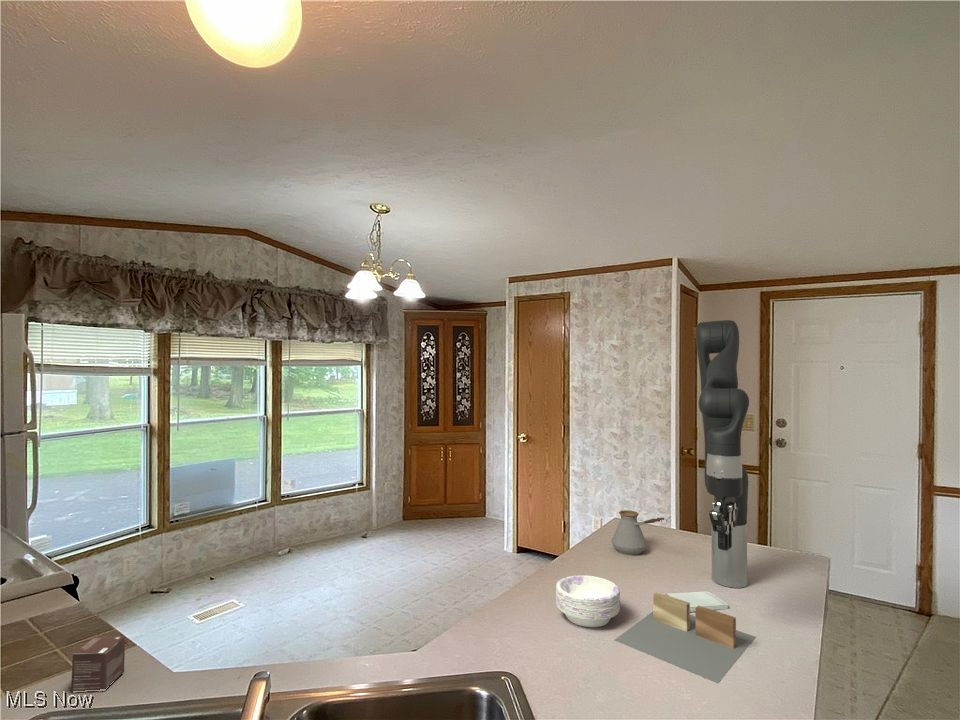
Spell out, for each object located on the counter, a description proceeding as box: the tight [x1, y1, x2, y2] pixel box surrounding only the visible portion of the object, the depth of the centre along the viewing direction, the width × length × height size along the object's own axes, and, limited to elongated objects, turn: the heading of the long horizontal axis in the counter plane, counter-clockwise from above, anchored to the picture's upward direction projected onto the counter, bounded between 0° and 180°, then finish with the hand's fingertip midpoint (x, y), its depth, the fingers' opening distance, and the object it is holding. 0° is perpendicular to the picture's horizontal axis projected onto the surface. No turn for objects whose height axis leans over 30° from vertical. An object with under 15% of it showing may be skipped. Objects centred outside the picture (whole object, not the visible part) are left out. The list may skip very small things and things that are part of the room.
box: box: [70, 635, 126, 693], centre depth 95 cm, size 6×6×7 cm
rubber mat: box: [614, 611, 757, 684], centre depth 111 cm, size 24×22×1 cm
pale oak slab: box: [652, 591, 691, 632], centre depth 118 cm, size 2×8×6 cm, turn 45°
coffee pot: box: [610, 509, 668, 556], centre depth 164 cm, size 21×12×15 cm, turn 27°
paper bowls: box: [555, 574, 621, 628], centre depth 121 cm, size 15×15×8 cm
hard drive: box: [665, 591, 729, 613], centre depth 128 cm, size 2×8×12 cm
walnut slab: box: [694, 606, 737, 648], centre depth 111 cm, size 2×8×6 cm, turn 45°
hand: (724, 548), depth 116 cm, fingers closed
